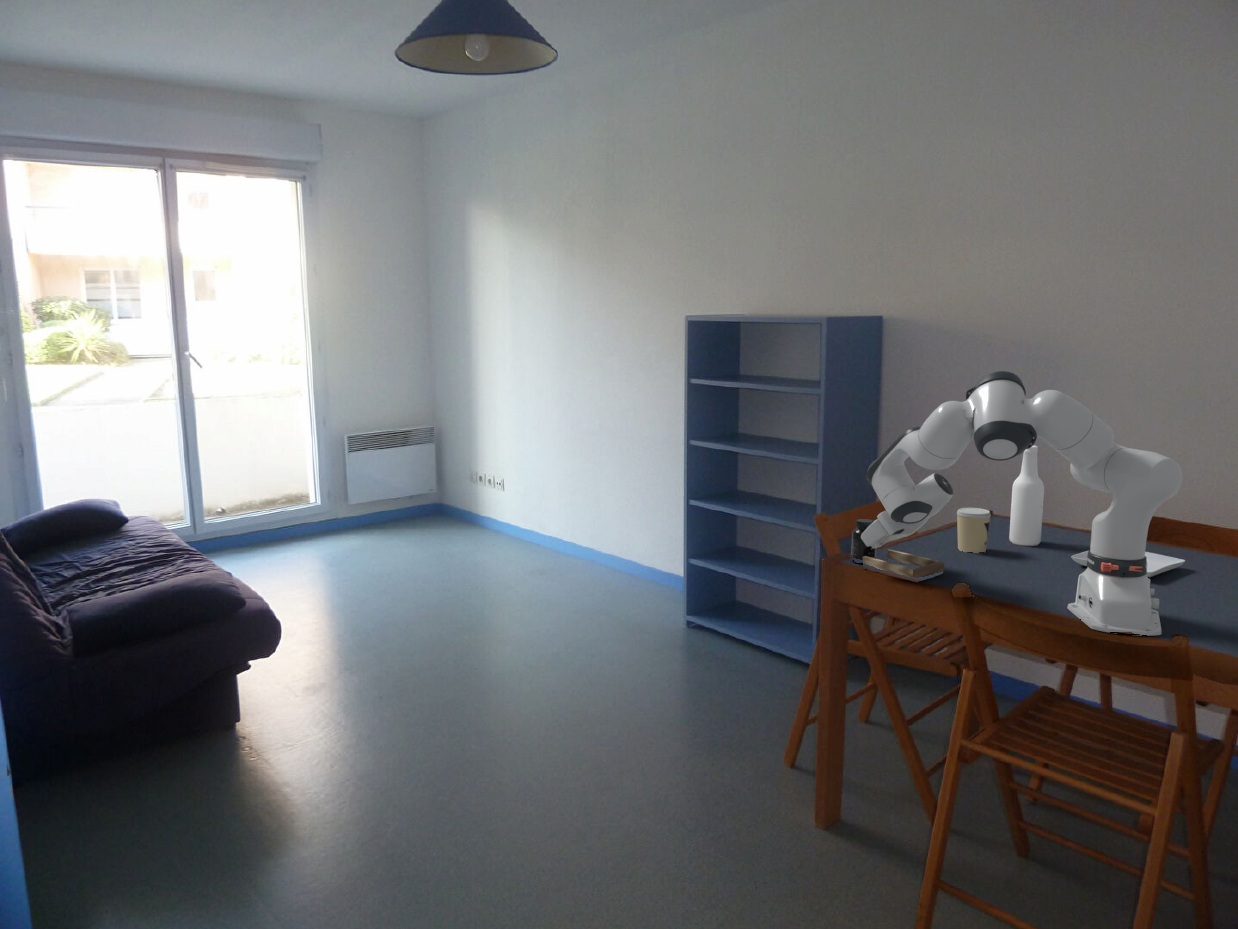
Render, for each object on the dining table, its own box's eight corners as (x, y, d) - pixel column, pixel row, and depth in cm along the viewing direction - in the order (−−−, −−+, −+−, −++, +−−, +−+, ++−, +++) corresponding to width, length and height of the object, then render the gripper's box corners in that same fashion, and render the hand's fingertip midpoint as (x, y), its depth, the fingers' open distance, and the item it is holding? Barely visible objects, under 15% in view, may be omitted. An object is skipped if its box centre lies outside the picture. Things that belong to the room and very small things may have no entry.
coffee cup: (992, 554, 254) (994, 514, 252) (958, 553, 256) (960, 513, 254) (984, 546, 263) (986, 507, 261) (951, 545, 265) (953, 507, 263)
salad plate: (1105, 554, 254) (1106, 543, 253) (1186, 570, 237) (1187, 558, 236) (1068, 567, 242) (1068, 555, 241) (1150, 585, 225) (1151, 572, 224)
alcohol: (1003, 539, 271) (1009, 444, 266) (1031, 538, 271) (1037, 443, 266) (1017, 546, 262) (1024, 448, 257) (1046, 546, 263) (1053, 447, 258)
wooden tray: (943, 574, 235) (944, 562, 235) (916, 583, 228) (916, 570, 227) (889, 561, 249) (890, 549, 248) (862, 569, 241) (862, 556, 241)
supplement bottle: (876, 565, 245) (878, 523, 243) (851, 564, 246) (852, 523, 244) (874, 558, 251) (876, 518, 249) (850, 557, 253) (851, 517, 251)
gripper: (921, 503, 243) (890, 530, 252) (876, 513, 231) (845, 542, 240) (935, 521, 240) (903, 548, 250) (889, 533, 228) (858, 561, 237)
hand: (874, 545), depth 245 cm, fingers closed, pressing on supplement bottle
